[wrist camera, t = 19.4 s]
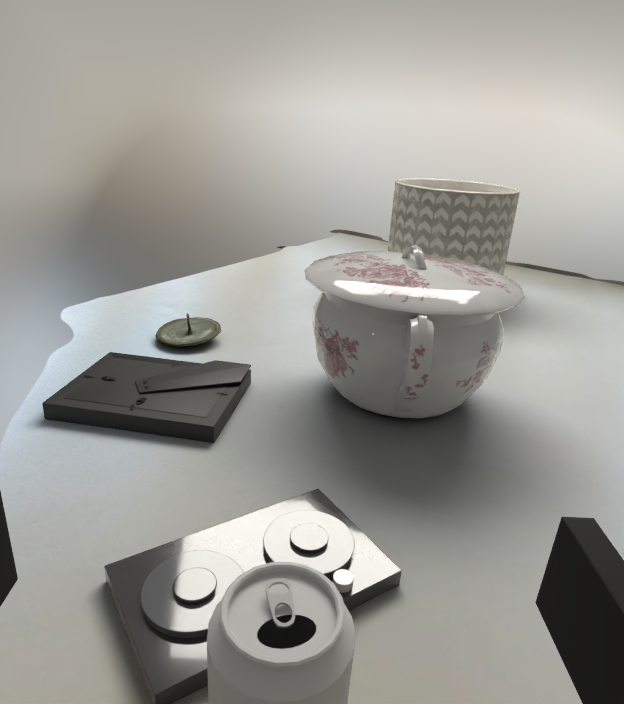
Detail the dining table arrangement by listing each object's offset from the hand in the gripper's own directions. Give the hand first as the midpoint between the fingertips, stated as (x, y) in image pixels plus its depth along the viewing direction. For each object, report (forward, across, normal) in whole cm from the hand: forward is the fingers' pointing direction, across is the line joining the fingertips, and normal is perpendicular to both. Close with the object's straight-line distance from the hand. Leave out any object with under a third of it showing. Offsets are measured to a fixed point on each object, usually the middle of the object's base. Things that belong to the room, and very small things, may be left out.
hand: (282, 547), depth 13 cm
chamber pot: (+57, +14, -25) cm, 63 cm away
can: (+10, 0, -25) cm, 27 cm away
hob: (+22, -2, -25) cm, 33 cm away
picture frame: (+52, -18, -25) cm, 60 cm away
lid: (+72, -18, -25) cm, 79 cm away
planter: (+106, +31, -25) cm, 114 cm away
